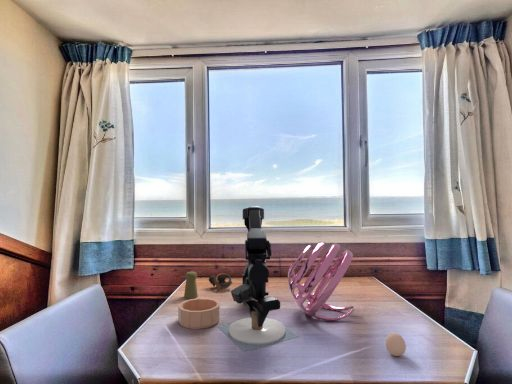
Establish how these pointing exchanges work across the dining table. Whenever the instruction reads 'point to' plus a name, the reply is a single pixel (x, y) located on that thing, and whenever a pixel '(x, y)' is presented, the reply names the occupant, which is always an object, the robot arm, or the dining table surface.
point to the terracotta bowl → (199, 313)
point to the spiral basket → (306, 289)
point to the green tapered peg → (190, 285)
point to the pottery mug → (220, 281)
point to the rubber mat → (249, 346)
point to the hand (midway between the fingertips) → (257, 324)
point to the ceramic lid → (256, 330)
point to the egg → (395, 344)
